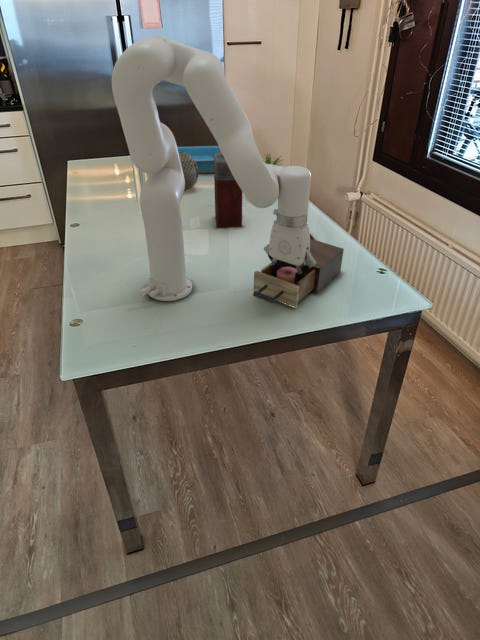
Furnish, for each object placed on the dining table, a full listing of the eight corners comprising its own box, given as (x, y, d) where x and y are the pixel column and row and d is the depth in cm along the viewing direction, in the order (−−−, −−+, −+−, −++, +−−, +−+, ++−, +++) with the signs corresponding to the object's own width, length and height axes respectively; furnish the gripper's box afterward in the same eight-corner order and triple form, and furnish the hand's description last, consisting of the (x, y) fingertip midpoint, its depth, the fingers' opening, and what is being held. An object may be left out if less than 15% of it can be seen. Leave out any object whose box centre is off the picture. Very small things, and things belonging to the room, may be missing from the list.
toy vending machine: (238, 214, 172) (239, 135, 156) (242, 227, 163) (243, 145, 147) (214, 215, 172) (212, 136, 155) (216, 227, 163) (214, 145, 146)
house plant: (291, 199, 185) (295, 157, 175) (260, 204, 181) (261, 161, 171) (276, 187, 196) (278, 147, 186) (246, 191, 192) (247, 151, 182)
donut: (302, 280, 127) (303, 270, 125) (291, 289, 123) (292, 280, 121) (283, 273, 130) (284, 264, 128) (272, 282, 126) (272, 273, 124)
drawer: (284, 318, 117) (285, 297, 113) (241, 301, 123) (241, 281, 120) (319, 286, 130) (322, 267, 126) (279, 272, 136) (280, 253, 132)
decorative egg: (194, 195, 188) (192, 157, 179) (167, 193, 190) (163, 155, 181) (201, 185, 197) (200, 149, 189) (175, 183, 199) (172, 147, 190)
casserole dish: (152, 177, 205) (150, 161, 201) (153, 161, 223) (152, 146, 219) (235, 174, 209) (235, 158, 204) (230, 159, 227) (230, 144, 222)
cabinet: (317, 294, 128) (320, 268, 123) (272, 278, 135) (274, 253, 130) (340, 272, 138) (343, 248, 133) (297, 259, 145) (299, 235, 140)
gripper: (255, 215, 117) (253, 276, 128) (315, 232, 109) (308, 296, 120) (271, 205, 122) (268, 265, 133) (330, 221, 114) (322, 284, 125)
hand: (287, 279), depth 126 cm, fingers closed on donut, 6 cm apart
